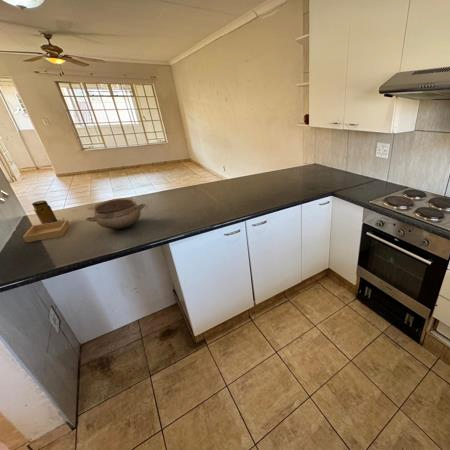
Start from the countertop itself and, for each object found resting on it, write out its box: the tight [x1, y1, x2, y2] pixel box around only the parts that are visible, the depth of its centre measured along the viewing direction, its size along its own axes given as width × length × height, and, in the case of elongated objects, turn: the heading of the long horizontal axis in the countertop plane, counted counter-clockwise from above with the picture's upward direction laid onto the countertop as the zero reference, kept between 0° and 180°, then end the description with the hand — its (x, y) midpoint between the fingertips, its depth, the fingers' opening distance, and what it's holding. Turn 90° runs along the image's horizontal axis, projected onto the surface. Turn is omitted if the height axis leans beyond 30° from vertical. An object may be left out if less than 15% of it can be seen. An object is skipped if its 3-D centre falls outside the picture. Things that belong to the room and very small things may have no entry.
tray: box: [22, 219, 70, 243], centre depth 119 cm, size 13×12×3 cm
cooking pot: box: [85, 197, 146, 230], centre depth 123 cm, size 25×19×12 cm
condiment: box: [31, 200, 64, 224], centre depth 127 cm, size 7×8×12 cm
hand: (6, 199), depth 117 cm, fingers open, 8 cm apart
